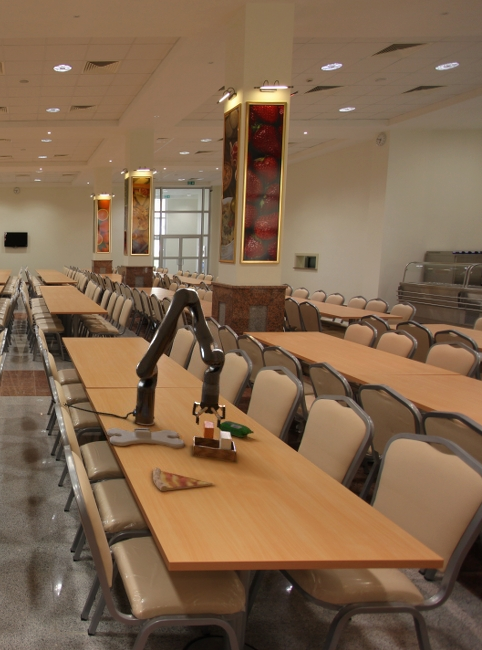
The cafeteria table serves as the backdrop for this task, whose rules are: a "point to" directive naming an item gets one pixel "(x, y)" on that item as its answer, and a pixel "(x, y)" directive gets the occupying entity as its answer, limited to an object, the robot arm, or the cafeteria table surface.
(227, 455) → the brown wooden tray
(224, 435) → the block
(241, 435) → the snack package
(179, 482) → the pizza slice
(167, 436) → the holder
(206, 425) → the block
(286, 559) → the cafeteria table surface
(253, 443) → the cafeteria table surface
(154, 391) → the robot arm
